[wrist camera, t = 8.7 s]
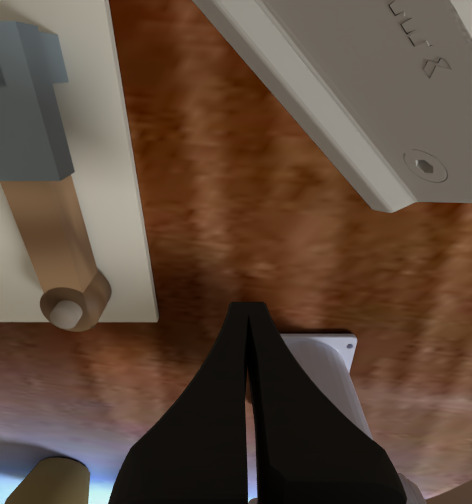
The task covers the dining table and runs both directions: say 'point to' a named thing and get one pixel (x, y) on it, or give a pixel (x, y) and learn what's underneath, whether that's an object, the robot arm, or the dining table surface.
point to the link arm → (59, 251)
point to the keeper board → (70, 149)
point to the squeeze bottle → (53, 484)
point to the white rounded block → (369, 86)
